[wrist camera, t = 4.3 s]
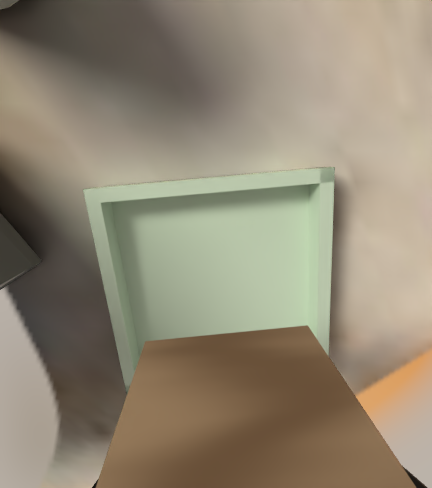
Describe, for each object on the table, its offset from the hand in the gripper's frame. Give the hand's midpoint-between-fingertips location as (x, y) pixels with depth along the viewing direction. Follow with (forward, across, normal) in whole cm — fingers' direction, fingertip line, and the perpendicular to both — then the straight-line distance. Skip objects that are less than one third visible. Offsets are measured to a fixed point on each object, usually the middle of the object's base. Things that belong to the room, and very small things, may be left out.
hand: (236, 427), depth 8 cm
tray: (+11, 0, 0) cm, 11 cm away
